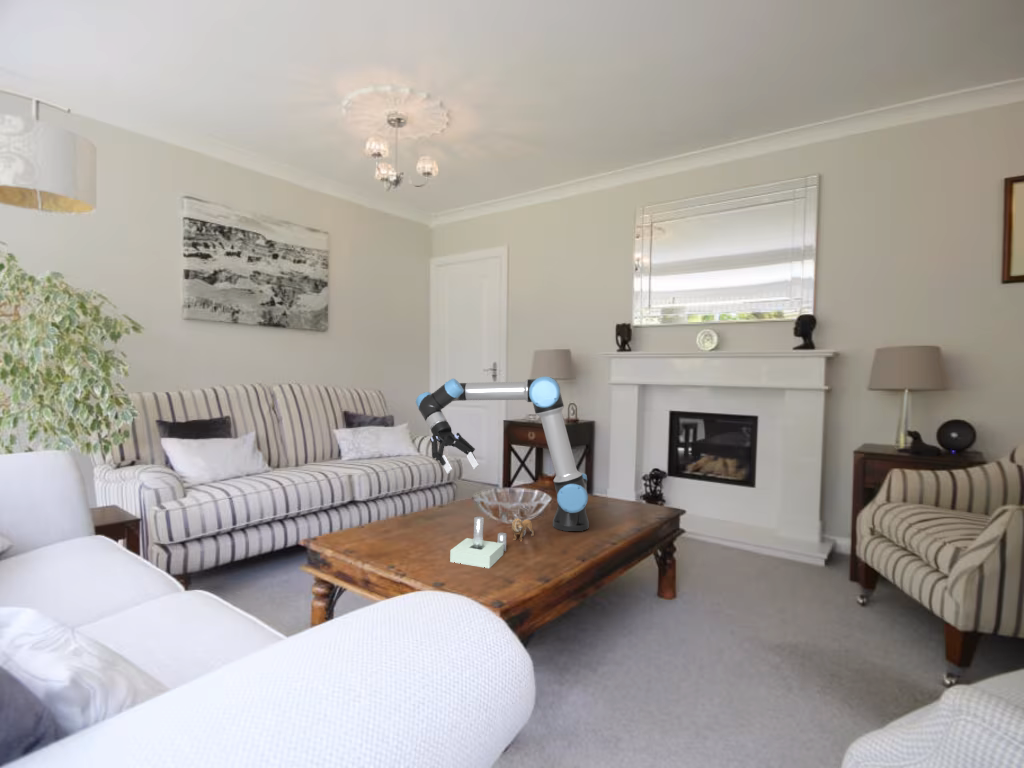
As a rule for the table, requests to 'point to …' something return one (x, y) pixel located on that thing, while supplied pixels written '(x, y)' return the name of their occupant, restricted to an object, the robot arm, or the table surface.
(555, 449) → the robot arm
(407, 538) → the table surface
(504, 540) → the short peg
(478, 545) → the tall peg
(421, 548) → the table surface
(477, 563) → the socket block
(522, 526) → the lion figurine
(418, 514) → the table surface
